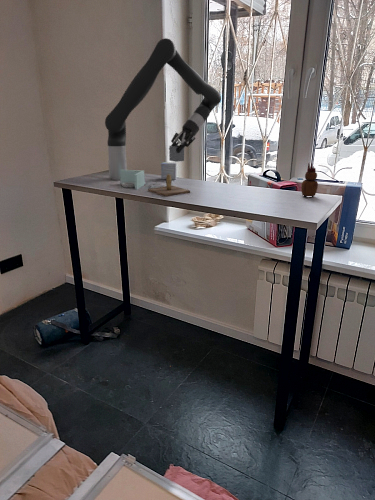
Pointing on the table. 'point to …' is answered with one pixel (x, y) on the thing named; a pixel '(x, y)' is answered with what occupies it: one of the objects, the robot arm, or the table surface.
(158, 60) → the robot arm
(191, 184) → the table surface
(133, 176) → the l-shaped corner panel
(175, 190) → the post stand
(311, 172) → the wooden figurine
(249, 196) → the table surface
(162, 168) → the medicine box
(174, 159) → the collar
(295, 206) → the table surface
